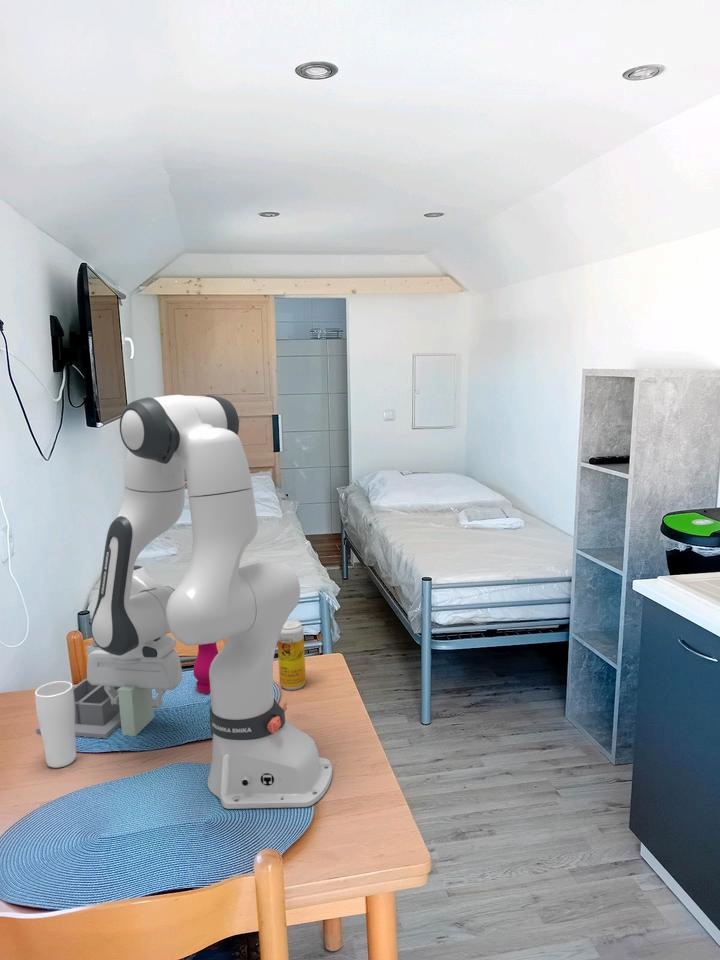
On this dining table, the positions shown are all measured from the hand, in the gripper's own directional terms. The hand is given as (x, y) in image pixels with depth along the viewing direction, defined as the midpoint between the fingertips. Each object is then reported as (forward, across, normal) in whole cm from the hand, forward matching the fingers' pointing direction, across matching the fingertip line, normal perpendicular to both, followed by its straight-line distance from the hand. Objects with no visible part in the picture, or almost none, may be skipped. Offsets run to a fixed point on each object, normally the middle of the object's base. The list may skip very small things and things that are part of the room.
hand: (136, 705), depth 148 cm
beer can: (+5, +27, +23) cm, 36 cm away
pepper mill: (+5, +8, +19) cm, 21 cm away
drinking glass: (+5, -8, -15) cm, 18 cm away
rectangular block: (+5, 0, 0) cm, 5 cm away
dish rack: (+5, -12, +3) cm, 13 cm away
